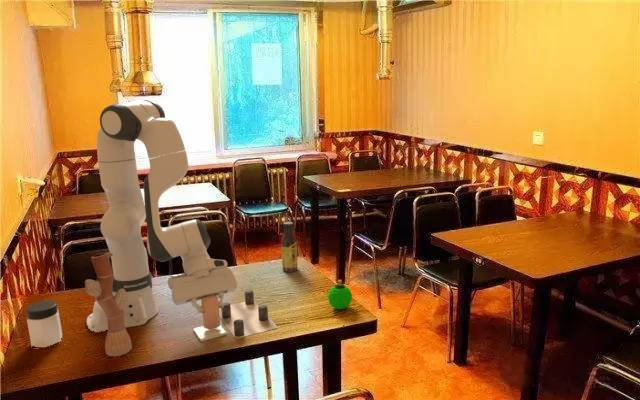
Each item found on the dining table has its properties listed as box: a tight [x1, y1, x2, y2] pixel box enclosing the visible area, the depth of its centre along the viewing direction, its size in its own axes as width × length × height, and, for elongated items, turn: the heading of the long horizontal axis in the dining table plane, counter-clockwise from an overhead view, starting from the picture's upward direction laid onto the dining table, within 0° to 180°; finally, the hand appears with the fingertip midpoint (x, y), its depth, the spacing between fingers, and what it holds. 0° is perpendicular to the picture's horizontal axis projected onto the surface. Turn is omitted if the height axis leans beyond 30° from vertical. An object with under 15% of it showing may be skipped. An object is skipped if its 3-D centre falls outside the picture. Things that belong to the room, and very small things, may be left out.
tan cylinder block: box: [201, 295, 221, 329], centre depth 157 cm, size 5×5×9 cm
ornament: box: [327, 279, 353, 310], centre depth 171 cm, size 8×8×10 cm
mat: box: [192, 324, 227, 342], centre depth 158 cm, size 8×8×1 cm
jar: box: [26, 300, 63, 347], centre depth 154 cm, size 9×8×12 cm
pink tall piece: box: [84, 251, 133, 357], centre depth 146 cm, size 10×7×30 cm
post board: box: [219, 289, 279, 340], centre depth 167 cm, size 14×24×5 cm, turn 26°
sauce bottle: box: [281, 221, 298, 273], centre depth 207 cm, size 7×6×20 cm
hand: (211, 310), depth 156 cm, fingers closed on tan cylinder block, 5 cm apart
